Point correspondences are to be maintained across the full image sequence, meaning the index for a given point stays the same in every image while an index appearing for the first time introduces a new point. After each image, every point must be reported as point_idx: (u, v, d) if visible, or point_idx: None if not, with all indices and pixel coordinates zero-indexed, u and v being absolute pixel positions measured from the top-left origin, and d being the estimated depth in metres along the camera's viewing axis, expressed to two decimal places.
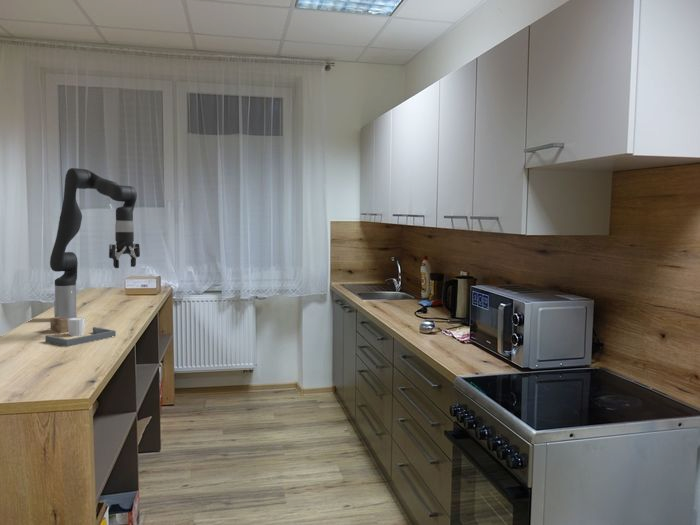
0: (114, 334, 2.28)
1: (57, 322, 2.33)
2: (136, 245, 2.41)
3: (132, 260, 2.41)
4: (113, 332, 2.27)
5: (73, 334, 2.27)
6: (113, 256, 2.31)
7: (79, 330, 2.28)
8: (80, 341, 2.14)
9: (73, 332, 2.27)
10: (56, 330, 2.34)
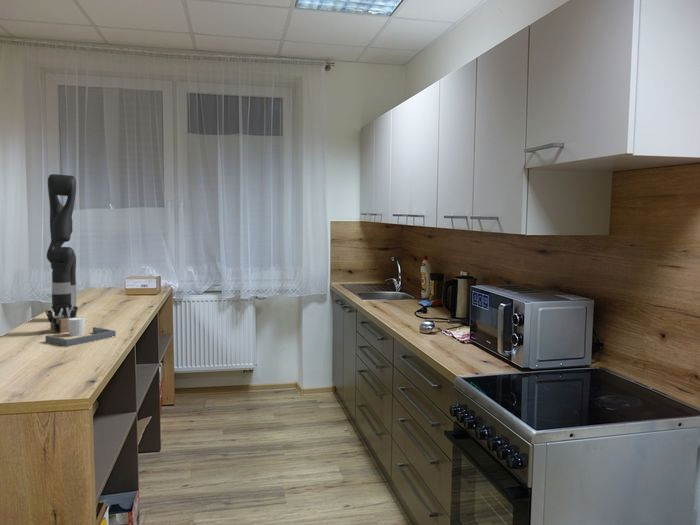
0: (114, 334, 2.28)
1: None
2: (74, 307, 2.39)
3: None
4: (113, 332, 2.27)
5: (73, 334, 2.27)
6: (53, 321, 2.30)
7: (79, 330, 2.28)
8: (80, 341, 2.14)
9: (73, 332, 2.27)
10: None
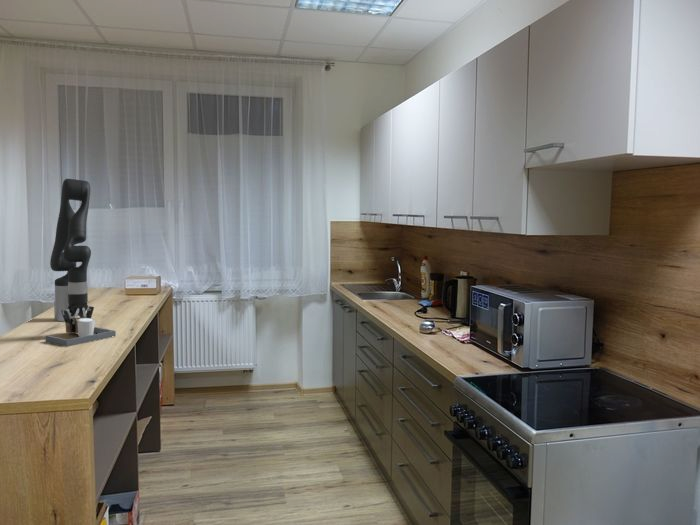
0: (114, 334, 2.28)
1: None
2: (90, 308, 2.33)
3: None
4: (113, 332, 2.27)
5: (82, 335, 2.25)
6: (69, 321, 2.24)
7: (89, 332, 2.25)
8: (80, 341, 2.14)
9: (83, 333, 2.24)
10: None
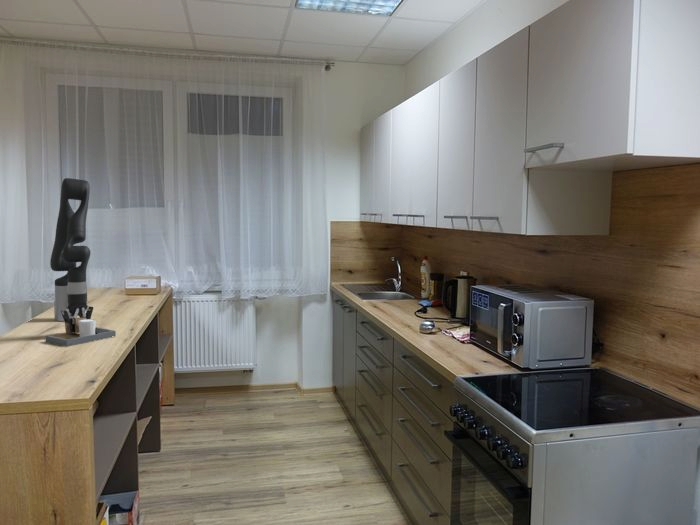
0: (114, 334, 2.28)
1: None
2: (90, 308, 2.33)
3: None
4: (113, 332, 2.27)
5: None
6: (69, 321, 2.25)
7: (90, 332, 2.25)
8: (80, 341, 2.14)
9: (84, 334, 2.24)
10: None
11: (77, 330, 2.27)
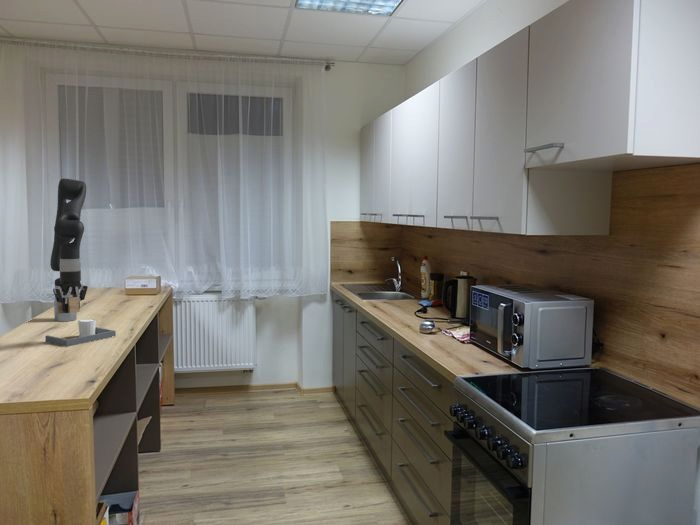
0: (114, 334, 2.28)
1: None
2: (84, 287, 2.20)
3: None
4: (113, 332, 2.27)
5: None
6: (61, 300, 2.11)
7: (90, 332, 2.25)
8: (80, 341, 2.14)
9: (84, 334, 2.24)
10: None
11: (70, 310, 2.14)
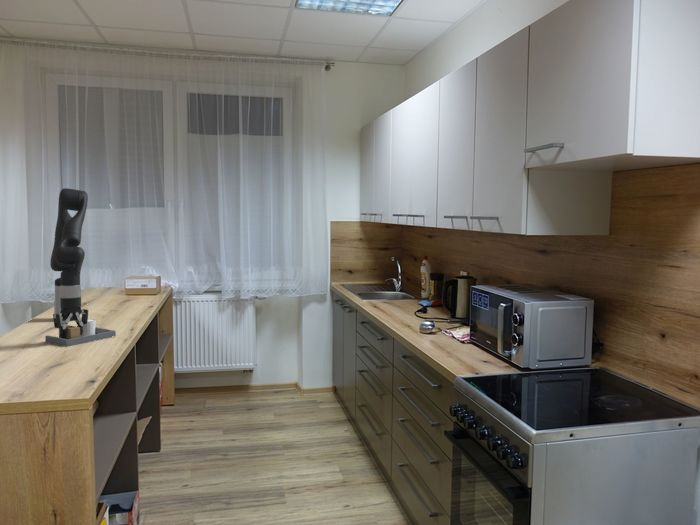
0: (114, 334, 2.28)
1: (66, 332, 2.15)
2: (85, 311, 2.21)
3: None
4: (113, 332, 2.27)
5: None
6: (59, 326, 2.11)
7: (90, 332, 2.25)
8: (80, 341, 2.14)
9: (84, 334, 2.24)
10: None
11: None
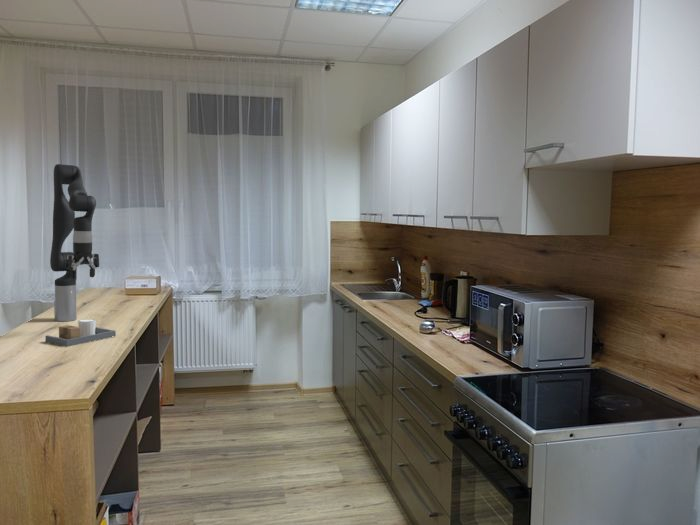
0: (114, 334, 2.28)
1: (66, 332, 2.15)
2: (95, 255, 2.38)
3: (91, 270, 2.37)
4: (113, 332, 2.27)
5: None
6: (69, 267, 2.28)
7: (90, 332, 2.25)
8: (80, 341, 2.14)
9: (84, 334, 2.24)
10: None
11: None
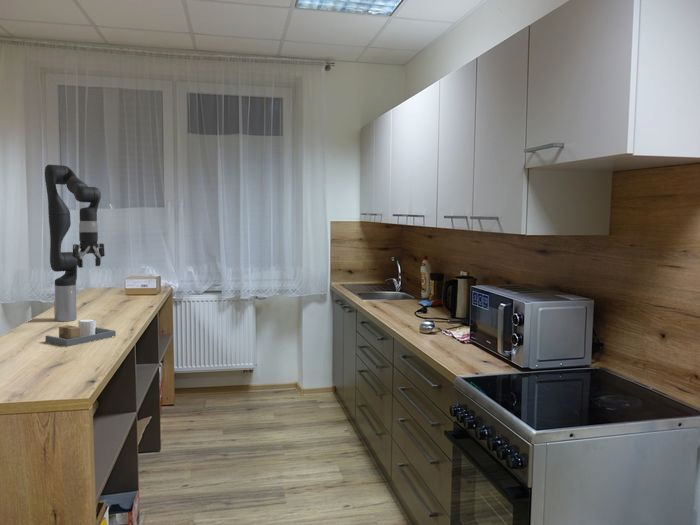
0: (114, 334, 2.28)
1: (66, 332, 2.15)
2: (101, 245, 2.46)
3: (97, 260, 2.45)
4: (113, 332, 2.27)
5: None
6: (76, 256, 2.36)
7: (90, 332, 2.25)
8: (80, 341, 2.14)
9: (84, 334, 2.24)
10: None
11: None
